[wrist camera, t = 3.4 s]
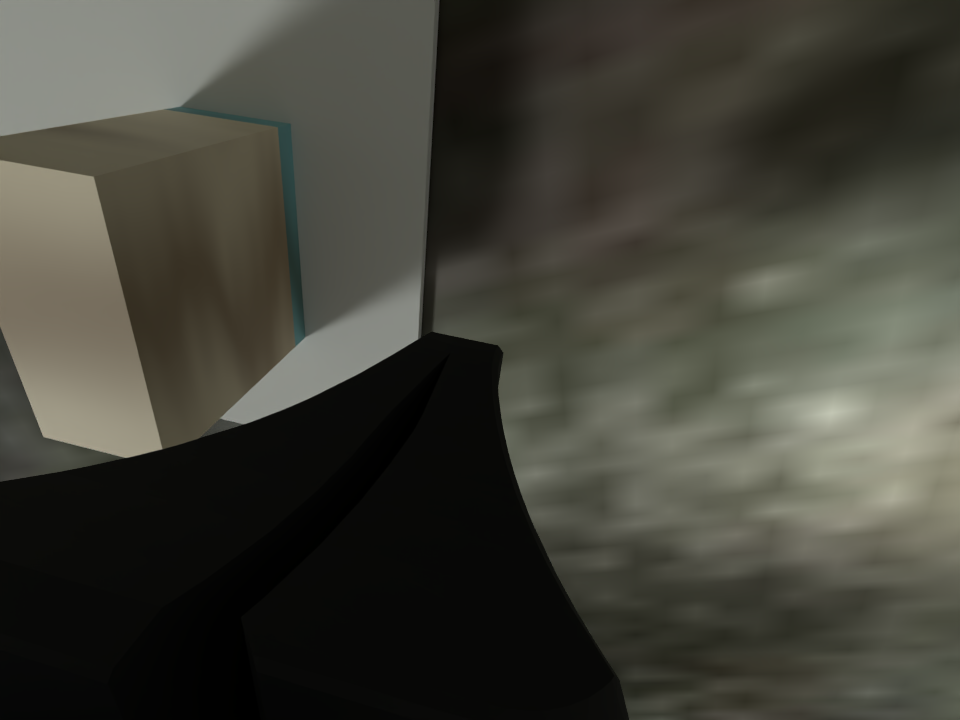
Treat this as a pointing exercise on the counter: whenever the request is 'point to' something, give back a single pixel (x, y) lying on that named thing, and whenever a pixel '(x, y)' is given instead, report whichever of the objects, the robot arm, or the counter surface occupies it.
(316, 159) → the grey rubber mat
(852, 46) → the counter surface
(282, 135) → the maple block
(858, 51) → the counter surface
